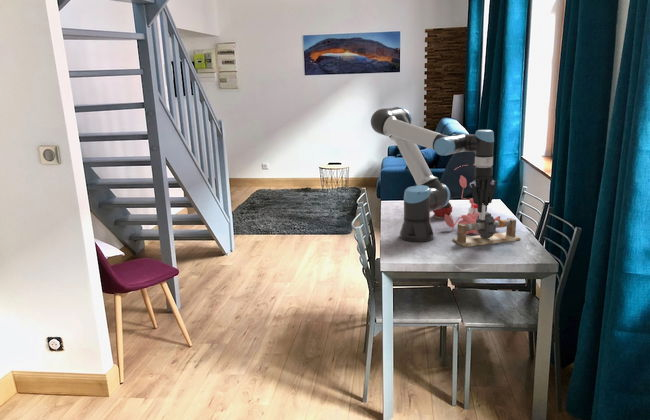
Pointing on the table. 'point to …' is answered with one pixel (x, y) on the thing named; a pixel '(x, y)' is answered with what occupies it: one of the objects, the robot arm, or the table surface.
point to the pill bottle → (474, 208)
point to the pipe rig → (478, 240)
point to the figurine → (469, 217)
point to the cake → (443, 211)
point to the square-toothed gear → (487, 226)
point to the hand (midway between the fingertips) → (481, 219)
